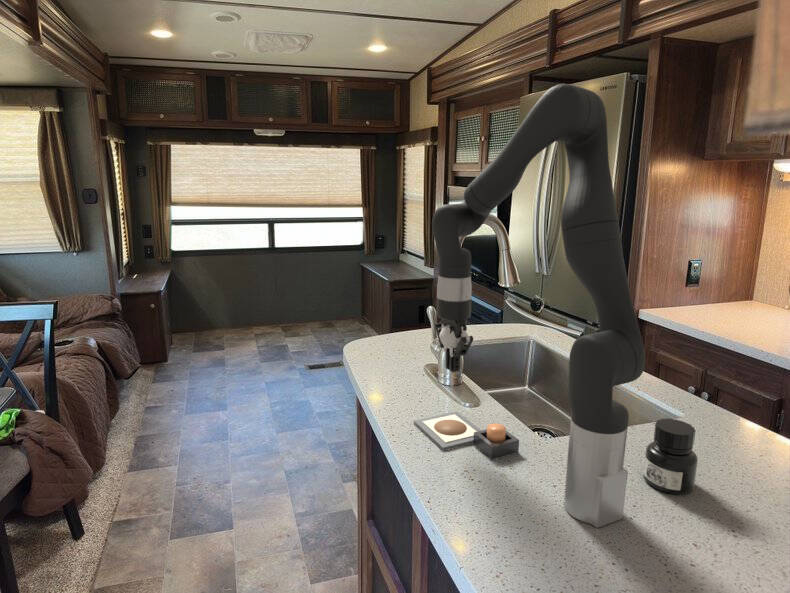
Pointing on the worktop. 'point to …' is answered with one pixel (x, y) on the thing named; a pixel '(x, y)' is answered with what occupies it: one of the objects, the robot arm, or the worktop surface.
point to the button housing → (496, 445)
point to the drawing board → (448, 430)
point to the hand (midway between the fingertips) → (452, 369)
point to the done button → (496, 433)
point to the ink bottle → (671, 457)
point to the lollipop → (449, 342)
